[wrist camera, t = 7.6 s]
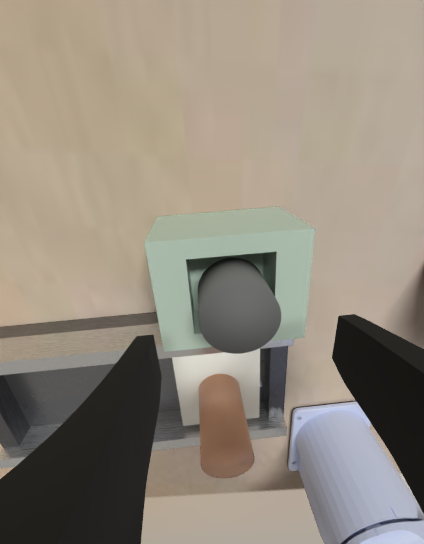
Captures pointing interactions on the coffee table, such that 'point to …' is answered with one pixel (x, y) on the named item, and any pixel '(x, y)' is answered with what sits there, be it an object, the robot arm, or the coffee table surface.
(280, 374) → the grey rectangular tray
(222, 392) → the plaque with round peg
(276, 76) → the coffee table surface
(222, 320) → the button
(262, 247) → the cabinet
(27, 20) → the coffee table surface
